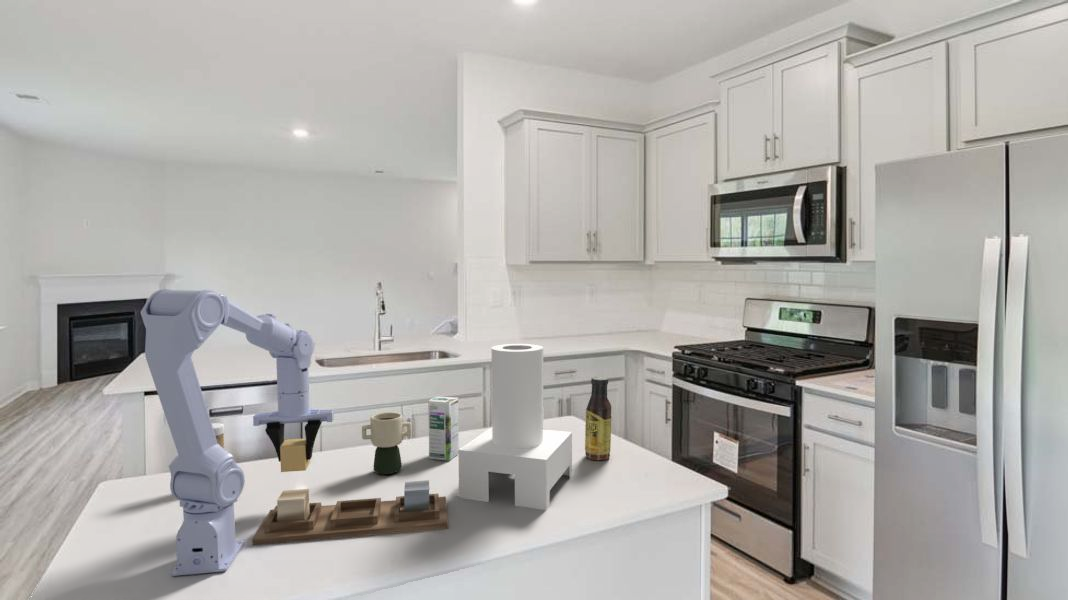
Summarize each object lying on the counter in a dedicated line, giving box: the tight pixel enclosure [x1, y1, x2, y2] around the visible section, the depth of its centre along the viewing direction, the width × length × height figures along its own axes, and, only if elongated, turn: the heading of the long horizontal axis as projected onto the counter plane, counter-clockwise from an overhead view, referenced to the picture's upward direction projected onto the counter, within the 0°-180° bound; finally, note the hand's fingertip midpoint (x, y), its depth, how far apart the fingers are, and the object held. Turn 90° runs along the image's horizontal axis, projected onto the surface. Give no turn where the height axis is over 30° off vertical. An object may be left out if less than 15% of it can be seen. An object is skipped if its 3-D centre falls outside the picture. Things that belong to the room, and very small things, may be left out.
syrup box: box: [427, 396, 460, 462], centre depth 143 cm, size 6×6×14 cm
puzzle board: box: [251, 479, 449, 546], centre depth 108 cm, size 12×33×6 cm, turn 101°
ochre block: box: [280, 437, 311, 473], centre depth 115 cm, size 4×4×5 cm
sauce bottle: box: [584, 375, 612, 462], centre depth 142 cm, size 7×6×20 cm
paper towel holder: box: [458, 343, 573, 511], centre depth 124 cm, size 19×19×30 cm
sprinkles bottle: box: [211, 422, 225, 449], centre depth 125 cm, size 5×5×13 cm
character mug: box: [361, 411, 412, 475], centre depth 133 cm, size 11×7×13 cm, turn 105°
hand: (295, 459), depth 115 cm, fingers closed on ochre block, 4 cm apart
